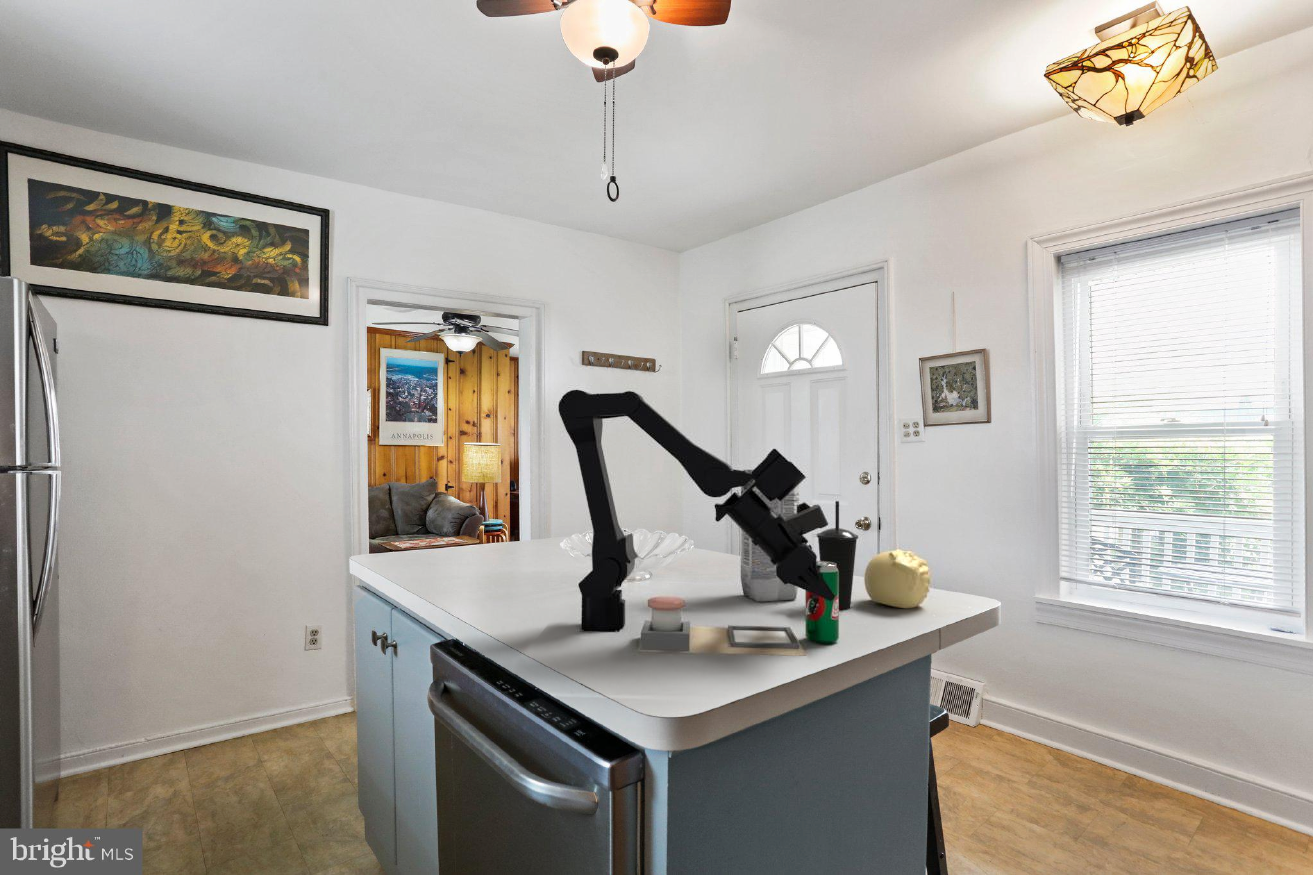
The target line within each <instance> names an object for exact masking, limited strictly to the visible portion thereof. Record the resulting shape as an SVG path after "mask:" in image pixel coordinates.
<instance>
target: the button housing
mask: <svg viewBox="0 0 1313 875" xmlns="http://www.w3.org/2000/svg"><path fill="white" fill-rule="evenodd" d="M690 627H691V621H688V620H687V621H682V620H681V631H680V632H670V631H652V620H644V622H643V625H642V628H641V631H640V640H641V650H656V651H689V648H690Z"/></svg>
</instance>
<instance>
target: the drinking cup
mask: <svg viewBox="0 0 1313 875" xmlns="http://www.w3.org/2000/svg"><path fill="white" fill-rule="evenodd" d="M834 504H835V509H834V510H835V511H834V512H835V519H834V520H835V522H834V524H835V527H833V528H827V529H825V530H822V531H821V532H818V533H816V538H817V542H818V551H819V552H818V553H819V561H827V562H833V563H836V567H837V569H838V570H839V611H843V610H849V609H850V608H851V604H852V603H851V602H852V591H853V584H854V582H853V581H854V571H855V561H856V551H857V541H858V539H859V535H858V534H856V533H853V532H852V531H850V530H849V529H848V530H847V529H844V528H840V500H836V501H835V502H834Z"/></svg>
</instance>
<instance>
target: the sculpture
mask: <svg viewBox="0 0 1313 875" xmlns="http://www.w3.org/2000/svg"><path fill="white" fill-rule="evenodd" d="M927 562H928V561H927V560H925V559H923V558H921V557H919V556H917V555H916V553H915V552H914V551H910V550H908V551H906V550H901V549H900V548H896V549H895V550H889V551H883V552H880V553H878V554H876V555H874V556H873V557H872V558H871V559H870V561H869V562H868V564H867V565H866V566H867V567H866V568H865V570H864V576H863V577H864V587H865V591H866V593H867V595H868V597H869V599H870V600H872V601H873V602H875V603H878V604H883V605H886V606H889V607H890V606H891V607H894V608H898V609H899V608H900V609H913V608H916V607H917V606H919V605H921V604H923V603H924V601H925V599H926V598H927V597H928V593H929V592H930V588H929V586H930V584H931V573H930V572H929V571H930V568H929V566H928V563H927Z"/></svg>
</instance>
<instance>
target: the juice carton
mask: <svg viewBox="0 0 1313 875" xmlns="http://www.w3.org/2000/svg"><path fill="white" fill-rule="evenodd" d="M759 464H760V463H758V465H759ZM758 465H757V466H758ZM746 470H747V471H748V472H752V471H753V470H754V469H746ZM742 471H745V469H742ZM754 482H755V480H754V479H751V480H750V481H749V482H748V483H747V484H746V485H745V486H741V487H740V495H741V494H742V493H743V492H745V491H746V490H747V489H748V488H749V487H750V486H751V485H752V484H753V483H754ZM799 486H800V484H799V485H798V486H797V487H796V488H795V489H794V490H793V491H792V492H791V493H789V494H788V495H787V496H786V497H785V498H784V499H783V500H782V501H781V502H780V501H779V500H778V499H777V498H776V499H775V500H773V501H772V502H770V501H769V500H768V499H767V498H766V497H765V496H764V495H763V494H762V493H761V492H760V491H759V490H758V489H757V488H756V487H754V488H753V490H754V491H755V492H756V493H757V494H758V495H759V496H760V497H761V498H762V500H763V501H764V502H765V503H766V504H767V505H768V506H769V507H770V508H771V509H772V510H773V511H774V512H775V513H777V514H778V515H779V514H781V515H782V516H783V517H784V518H787V517H790V516H792V515H793V514H796V511H797V505H799V504H800V487H799ZM740 583H741V588H742V593H743V595H744V596H745V597H748V598H750V599H752V600H754V601H756V602H758V603H760V602H761V603H762V602H765V603H766V602H776V601H777V602H779V601H793V600H796V599H797V595H798V591H799V590H798V589H799V587H797V586H794V585H792V584H786V585H785V584H784V583H783V582H782V581H781V580H780V579H779V578H778V577H777V576H776V565H774V564H773V563H772V562H771V561H770V558H769V557H768V556H767V555H766V554H765V553H764V552H763V551H762V550H761V549H760V548H759V547H758V546H757V545H756V546H755V545H754V544H753V543H752V542H751V539H750V538H749V537H748V535H747V534H746V533H745V532H744V531H743V530H742V529H741V528H740Z"/></svg>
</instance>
